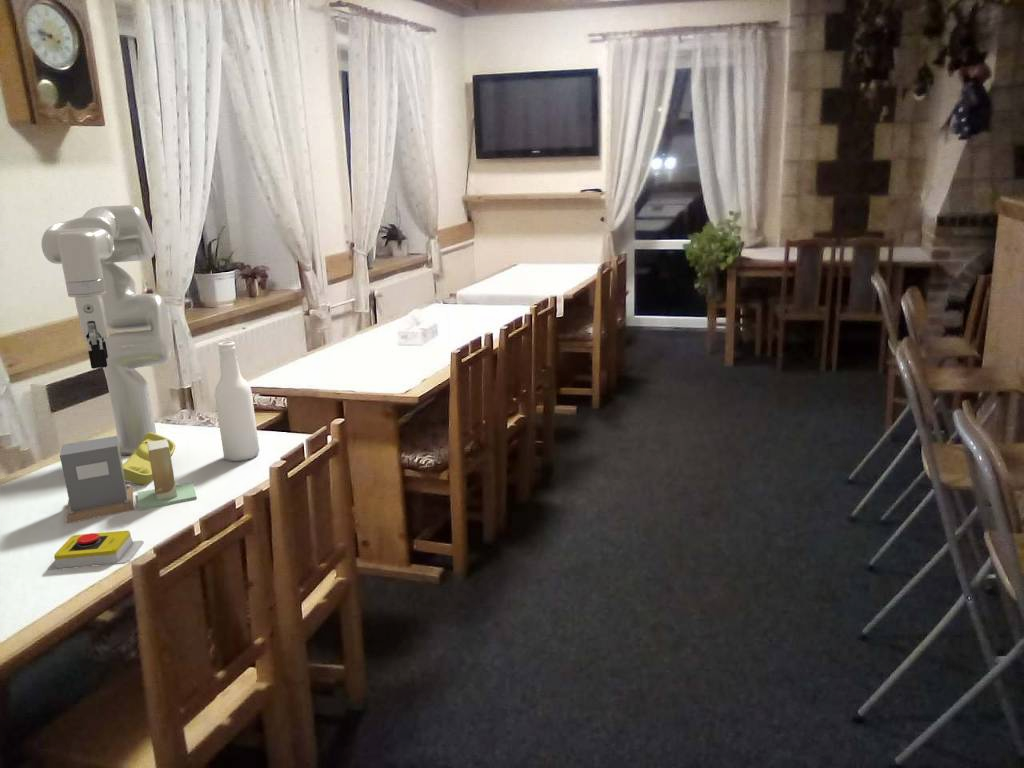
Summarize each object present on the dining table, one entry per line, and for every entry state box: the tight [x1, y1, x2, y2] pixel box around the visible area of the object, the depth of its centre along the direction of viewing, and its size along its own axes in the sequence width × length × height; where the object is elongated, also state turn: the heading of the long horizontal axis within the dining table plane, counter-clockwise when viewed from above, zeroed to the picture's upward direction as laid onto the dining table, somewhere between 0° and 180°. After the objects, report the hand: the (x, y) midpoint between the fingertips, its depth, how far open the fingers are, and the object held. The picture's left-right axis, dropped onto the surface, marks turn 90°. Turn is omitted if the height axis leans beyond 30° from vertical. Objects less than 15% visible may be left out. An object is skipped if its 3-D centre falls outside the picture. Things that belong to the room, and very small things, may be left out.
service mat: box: [137, 481, 197, 511], centre depth 181 cm, size 10×12×1 cm
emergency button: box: [47, 530, 144, 571], centre depth 154 cm, size 9×4×15 cm
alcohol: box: [214, 340, 260, 462], centre depth 202 cm, size 9×9×30 cm
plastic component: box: [122, 432, 176, 486], centre depth 197 cm, size 20×7×10 cm
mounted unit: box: [59, 435, 135, 524], centre depth 176 cm, size 12×13×14 cm
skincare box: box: [147, 439, 177, 500], centre depth 180 cm, size 6×4×12 cm
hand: (100, 363), depth 180 cm, fingers open, 9 cm apart
